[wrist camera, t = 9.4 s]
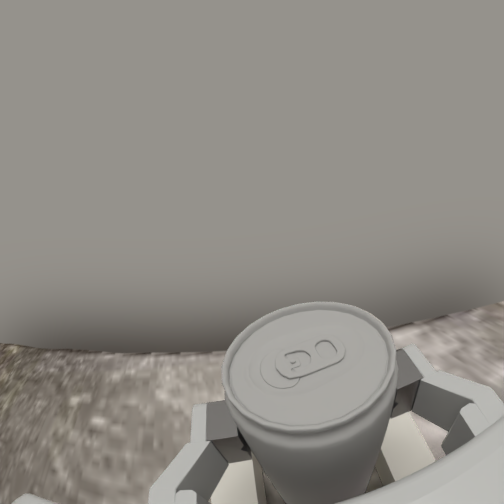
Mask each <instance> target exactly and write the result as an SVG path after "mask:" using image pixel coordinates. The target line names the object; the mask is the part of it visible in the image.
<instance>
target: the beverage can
mask: <svg viewBox="0 0 504 504" xmlns="http://www.w3.org/2000/svg"><path fill="white" fill-rule="evenodd" d="M396 353H397V352H396V348H395V345H394V341H393V338H392V335H391V334H390V332H389V331H388V329H387V328H386V327H385V325H384V324H383V323H382V322H381V321H380V320H379V319H377V318H376V317H375V316H373V315H372V314H371V313H369V312H367V311H365V310H362V309H360V308H357V307H355V306H352V305H347V304H343V303H338V302H310V303H301V304H297V305H293V306H289V307H285V308H281V309H279V310H277V311H275V312H272V313H270V314H267V315H265V316H263V317H262V318H260V319H258V320H257V321H255V322H254V323H252V324H250V325H249V326H248V327H247V328H246V329H245V330H243V331H242V333H240V334H239V335H238V336H237V337H236V338H235V340H234V341H233V343H232V344H231V345H230V347H229V348H228V350H227V352H226V355H225V358H224V361H223V364H222V385H223V387H224V390H225V401H226V404H227V406H228V408H229V411H230V413H231V416H232V418H233V420H234V422H235V424H236V425H237V427H238V429H239V431H240V432H241V434H242V436H243V437H244V439H245V441H246V442H247V444H248V446H249V447H250V449H251V451H252V452H253V454H254V456H255V457H256V459H257V461H258V462H259V464H260V465H261V467H262V468H263V470H264V472H265V473H266V475H267V476H268V478H269V479H270V481H271V482H272V484H273V485H274V487H275V488H276V490H277V491H278V493H279V494H280V496H281V497H282V499H283V500H284V501H285V503H286V504H334V503H338V502H341V501H344V500H347V499H351V498H354V497H357V496H359V495H362V494H364V493H365V491H366V489H367V486H368V483H369V481H370V478H371V475H372V472H373V469H374V466H375V464H376V461H377V458H378V455H379V452H380V449H381V446H382V443H383V440H384V437H385V434H386V430H387V427H388V423H389V419H390V416H391V412H392V408H393V403H394V399H395V395H396V388H397V380H398V370H399V369H398V365H397V361H396Z"/></svg>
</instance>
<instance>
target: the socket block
mask: <svg viewBox="0 0 504 504" xmlns="http://www.w3.org/2000/svg"><path fill="white" fill-rule="evenodd" d="M251 454H252V460H247V461H241V462H235V463H229V465H228V467H227V469H226V471H225V473H224V474H223V476H222V478H221V480H220V482H219V483H218V485H217V487H216V489H215V490H214V492H213V494H212V496H211V502H212V504H267V500H266V494H265V487H264V481H263V474H262V467H261V465H260V464H259V462H258V461H257V459H256V457H255V456H254V454H253V452H252V451H251ZM435 461H436V460H435V458H434V456H433V454H432V452H431V450H430V449H429V447H428V445H427V443H426V441H425V439H424V438H423V436H422V434H421V432H420V431H419V429H418V427H417V425H416V423H415V422H414V420H413V418H412V416H411V415H410V413H409V412H406V413H404V414H402V415H399V416H397V417H395V418H392V419H391V418H390V419H389V423H388V427H387V430H386V434H385V437H384V440H383V443H382V446H381V449H380V452H379V455H378V458H377V461H376V464H375V467H376V470H377V472H378V475H379V477H380V480H381V482H382V485H383V486H386V485H388V484H390V483H393V482H395V481H397V480H399V479H402V478H404V477H406V476H408V475H410V474H412V473H414V472H416V471H418V470H420V469H422V468H424V467H426V466H428V465H430V464H432V463H434V462H435Z"/></svg>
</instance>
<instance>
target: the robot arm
mask: <svg viewBox="0 0 504 504" xmlns="http://www.w3.org/2000/svg"><path fill="white" fill-rule="evenodd" d="M396 352H397V353H396V361H397V365H398V369H399V370H398V380H397V388H396V395H395V399H394V403H393V408H392V412H391V416H390V418H391V419H392V418H395V417H397V416H399V415H402V414H404V413H406V412H409V411H411V410H412V412H414V413H416V414H418V415H419V416H421V417H423V418H425V419H427V420H428V421H430V422H432V423H434V424H436V425H437V426H439V427H441V428H443V429H445V430H447V431H448V434H447V435H446V437H445V439H444V441H443V442H442V445H441V446H442V448H443V450H444V452H445V454H446V456H444V457H442V458H441V459H439V460H437V461H435V462H434V463H432V464H430V465H428V466H426V467H424V468H422V469H420V470H418V471H416V472H414V473H412V474H410V475H408V476H406V477H404V478H402V479H399V480H397V481H395V482H393V483H390V484H388V485H386V486H383V487H381V488H378V489H376V490H373V491H370V492H368V493H365V494H362V495H359V496H357V497H354V498H351V499H347V500H344V501H341V502H338V503H334V504H504V403H503V402H502V401H501V399H500V398H499V397H498V396H497V394H496V393H495V392H494V391H493V389H492V388H491V387H488V386H485V385H482V384H479V383H476V382H473V381H470V380H467V379H464V378H461V377H458V376H455V375H453V374H450V373H447V372H444V371H441V370H439V371H436V370H435V369H434V367H433V366H432V365H431V364H430V362H429V361H428V360H427V359H426V357H425V356H424V355H423V354H422V352H421V351H420V350H419V349H418V347H417V346H416V345H415V344H410V345H408V346H406V347H403V348H401V349H398V350H396ZM247 460H252V454H251V449H250V447H249V446H248V444H247V442H246V441H245V439H244V437H243V436H242V434H241V432H240V431H239V429H238V427H237V425H236V424H235V422H234V420H233V418H232V416H231V413H230V411H229V408H228V406H227V404H226V401H225V400H223V401H216V402H209V403H202V404H195V405H194V406H193V408H192V421H191V438H190V443H186V444H185V446H184V447H183V448H182V449H181V451H180V452H179V453H178V455H177V456H176V457H175V458H174V460H173V461H172V462H171V463H170V465H169V466H168V467H167V468H166V469H165V471H164V472H163V473H162V474H161V476H160V477H159V478H158V479H157V480H156V482H155V483H154V484H153V485H152V486H151V488H150V490H149V500H148V504H211V503H209V502H208V501H209V499H210V497H211V496H212V494H213V492H214V490H215V489H216V487H217V485H218V483H219V482H220V480H221V478H222V476H223V474H224V473H225V471H226V469H227V467H228V465H229V463H235V462H241V461H247ZM11 504H60V503H56V502H53V501H50V500H47V499H44V498H42V497H39V496H36V495H33V494H29V493H27V494H24V495H22V496H20V497H19V498H18V499H16V500H15V501H14V502H12V503H11Z"/></svg>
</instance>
